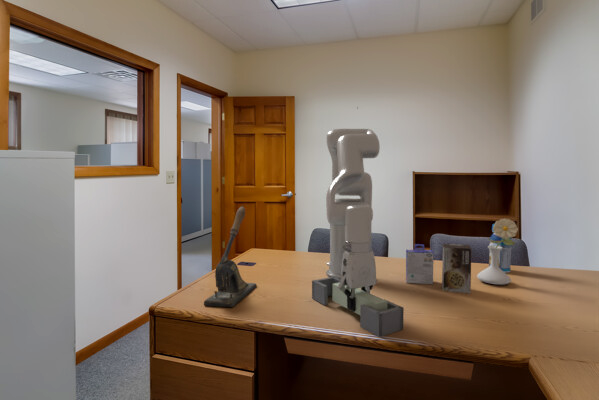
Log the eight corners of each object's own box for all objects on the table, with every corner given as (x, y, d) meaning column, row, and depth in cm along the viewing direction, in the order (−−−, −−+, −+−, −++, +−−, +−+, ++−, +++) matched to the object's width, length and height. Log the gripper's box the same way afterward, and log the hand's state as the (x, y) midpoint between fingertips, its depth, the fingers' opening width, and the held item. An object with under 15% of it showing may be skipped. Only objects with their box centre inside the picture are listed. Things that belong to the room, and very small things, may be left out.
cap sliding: (312, 298, 116) (312, 280, 116) (333, 293, 121) (333, 276, 120) (324, 305, 110) (324, 286, 110) (346, 299, 115) (346, 282, 114)
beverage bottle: (511, 274, 144) (513, 226, 142) (487, 271, 148) (489, 225, 146) (510, 269, 151) (512, 223, 149) (488, 267, 155) (490, 222, 154)
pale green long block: (332, 300, 110) (332, 283, 110) (342, 298, 112) (342, 281, 112) (376, 323, 93) (376, 303, 92) (387, 320, 95) (387, 301, 94)
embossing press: (200, 306, 110) (198, 212, 108) (233, 283, 133) (232, 205, 131) (232, 309, 108) (230, 213, 105) (260, 285, 130) (259, 206, 128)
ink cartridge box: (431, 280, 136) (432, 243, 135) (433, 284, 131) (434, 246, 129) (405, 279, 138) (405, 243, 137) (406, 283, 133) (407, 245, 131)
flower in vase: (472, 282, 133) (475, 218, 131) (481, 276, 141) (484, 215, 139) (512, 290, 124) (515, 221, 122) (519, 283, 132) (522, 218, 130)
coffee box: (468, 288, 127) (469, 244, 125) (470, 294, 121) (472, 248, 119) (441, 285, 130) (442, 243, 128) (442, 291, 123) (443, 246, 122)
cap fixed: (360, 326, 95) (360, 305, 95) (384, 319, 99) (384, 299, 99) (378, 337, 89) (379, 314, 88) (403, 329, 93) (403, 307, 93)
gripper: (343, 252, 94) (342, 318, 95) (388, 246, 102) (387, 307, 103) (327, 247, 100) (327, 309, 101) (371, 242, 109) (370, 299, 110)
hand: (357, 307), depth 102 cm, fingers closed on pale green long block, 4 cm apart
